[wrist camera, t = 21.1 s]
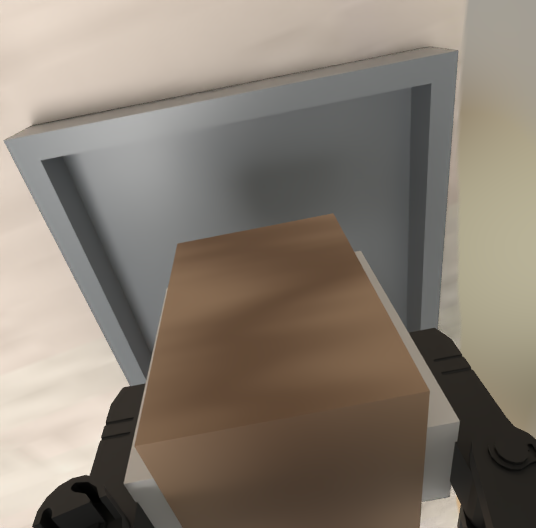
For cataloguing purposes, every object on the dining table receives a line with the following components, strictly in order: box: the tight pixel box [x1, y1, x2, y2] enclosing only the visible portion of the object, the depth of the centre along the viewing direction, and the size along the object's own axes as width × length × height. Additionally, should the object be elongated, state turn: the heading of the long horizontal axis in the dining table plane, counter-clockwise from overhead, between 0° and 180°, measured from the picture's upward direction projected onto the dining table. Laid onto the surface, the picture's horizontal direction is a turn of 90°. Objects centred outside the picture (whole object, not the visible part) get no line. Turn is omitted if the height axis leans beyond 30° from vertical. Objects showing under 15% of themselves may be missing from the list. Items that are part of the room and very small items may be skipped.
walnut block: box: [134, 213, 430, 528], centre depth 11 cm, size 5×5×7 cm
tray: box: [4, 47, 458, 386], centre depth 23 cm, size 24×18×3 cm
